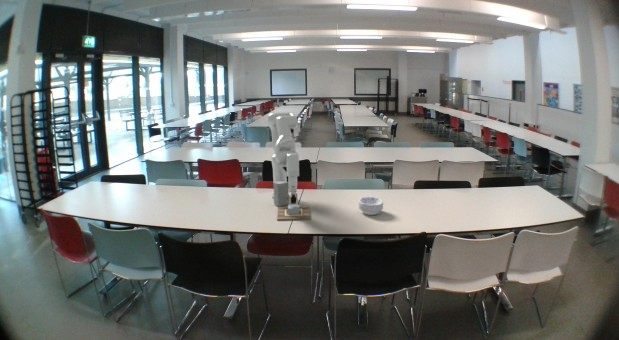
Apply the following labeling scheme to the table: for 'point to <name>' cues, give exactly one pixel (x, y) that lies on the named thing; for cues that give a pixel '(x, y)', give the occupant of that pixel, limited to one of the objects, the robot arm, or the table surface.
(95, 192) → the table surface
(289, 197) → the maple cube
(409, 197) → the table surface
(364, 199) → the paper bowls
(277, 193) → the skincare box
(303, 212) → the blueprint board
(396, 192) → the table surface
